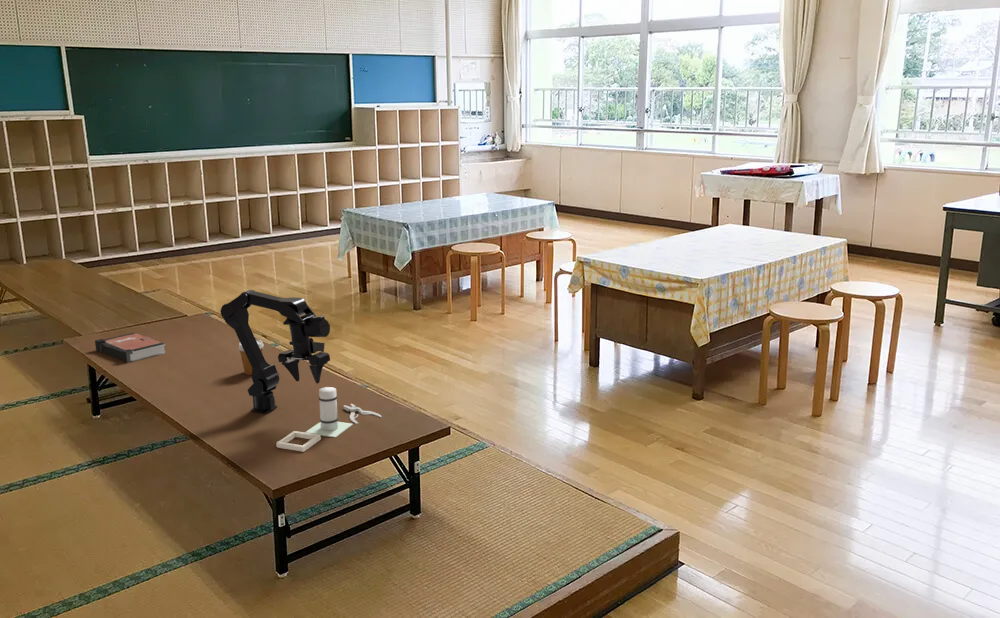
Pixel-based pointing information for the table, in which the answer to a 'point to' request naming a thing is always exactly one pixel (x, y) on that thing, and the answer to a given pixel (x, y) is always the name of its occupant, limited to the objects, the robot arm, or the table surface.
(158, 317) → the table surface
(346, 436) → the table surface
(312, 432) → the mat
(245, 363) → the disposable coffee cup
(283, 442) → the white square frame
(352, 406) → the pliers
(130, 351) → the book
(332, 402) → the grey-banded white cylinder
